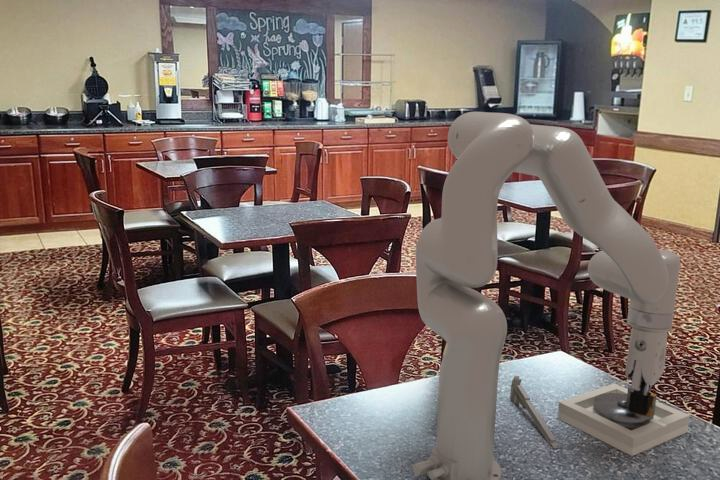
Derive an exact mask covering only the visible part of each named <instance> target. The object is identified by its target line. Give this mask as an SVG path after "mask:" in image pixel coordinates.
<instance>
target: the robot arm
mask: <svg viewBox="0 0 720 480" xmlns="http://www.w3.org/2000/svg"><path fill="white" fill-rule="evenodd" d="M447 144H448V148H449V150H450V152H451V154H452V155H453V156H454V157H455V158H456V160H455V162H454V163H453V165H452V166H451V168H450V170H449V171H448V173H447V175H446V178H445V181H444V184H443V188H442V193H441V194H442V195H441V216H440V218H436V219H434V220H431V221H430V222H428V224H426V225H425V227H423V229H422V231H421V232H420V234H419V236H418V239H417V241H416V244H415V275H416V278H415V279H416V294H417V295H416V296H417V297H416V298H417V307H418V312H419V316H420V318H421V321H422V322H423V323H424V324H425V326H426V327H427V328H429V330H431V331H432V332H434V333H435V334H437V335H438V336H439V337H441V339H443V340H444V341H445V343H447V350H446V353H445V355H444V357H443V356H442V359H443V360H441V363H440V367H439V372H438V398H437V399H438V400H437V420H436V421H437V423H436V425H437V426H436V444H435V445H436V447H434V448H432V449H431V450H430V456H428V457H427V459H426V460H423V461H420V462H417V463H413V465H412V471H413V474H414V475H415V476H416V477H419V476H422V475H425V474H426V475H427V477H428V478H429V479H430V480H502V475H503V471H502V467H501V465H500V464H499V462H498V461H496V459H494V450H495V449H494V447H495V431H496V430H495V429H496V418H497V417H496V416H497V403H498V401H497V399H498V384H499V383H498V382H499V369H500V364H501V357H502V353H503V349H504V345H505V342H506V339H507V333H508V323H507V318H506V316H505V313H504V311H503V309H502V308H501V307H500V306H499V304H498V303H496V302H495V301H494V300H493V299H492V298H490V297H489V296H487V295H485V294H483V293H481V292H479V291H478V290H475V289H476V288H480V287H484V286H486V285H488V284H489V283H491V281H492V280H493V279H494V276H495V275H496V271H497V268H498V257H499V255H498V202H499V196H500V192H501V190H502V188H503V186H504V184H505V182H506V181H507V180H508V178H509V177H510V175H512V173H518V174H524V175H528V176H534V177H538V178H539V180H540V181H541V182H542V185H543V186H544V188H545V190H546V192H547V193H548V195H549V196H550V198H551V200H552V202H553V204H554V205H555V208H556V209H557V211H558V213H559V215H560V217H561V219H562V220H563V222H564V223H565V224H566V225H567V227H569V228H570V229H571V230H573V231H574V233H577V235H579V236H580V237H582V238H584V239H585V240H587V241H588V242H590V243H592V244H593V245H594V246H596V247H597V248H599V249H600V251H598V252H596V253H595V254H594V255H592V257H591V258H590V260H589V262H588V265H587V274H588V277H589V279H590V281H592V283H593V284H594V285H596V286H598V288H601V289H603V290H605V291H607V292H610V293H613V294H615V295H617V296H620V297H623V298H626V299H628V300H629V302H628V304H629V305H628V312H627V317H626V318H627V320H626V324H628V325H629V326H630V327H631V332H630V337H629V342H628V343H629V344H628V350H627V357H626V364H625V378H626V379H627V381H630V380H631V386H630V387H631V393H630V402H629V411H630V412H634V413H638V414H641V415H646V414H647V413H648V411H649V404H650V397H651V393H652V392H651V390H652V386H654V385H655V384H656V383H657V382H658V380H659V379H660V378H661V376H662V375H663V374H664V371H665V369H666V367H665V366H666V358H667V357H666V355H667V345H668V344H667V343H668V332H669V331H670V332H671V330H672V329H673V321H674V316H675V315H674V314H675V306H676V299H677V289H678V283H679V276H680V268H681V259H680V257H679V255H678V254H676V253H675V252H673V251H670V250H665V249H660V248H658V246H657V244H656V243H655V241H654V239H653V238H652V237H651V235H650V234H649V233H648V232H647V230H645V228H643V226H642V225H641V224H640V223H639V222H637V221H636V220H635V219H634V217H632V216H631V214H630V213H628V211H626V209H625V208H624V207H622V206H621V205H620V204H619V203H618V202H617V201H616V200H615V199H614V198H613V196H612V195H611V193H610V191H609V189H608V188H607V186H606V183H605V181H604V180H603V177H602V176H601V174H600V172H599V170H598V168H597V166H596V164H595V162H594V161H593V157H592V156H591V155H590V153H589V150H588V149H587V147H586V145H585V143H584V141H583V139H582V138H581V137H580V135H578V134H577V133H576V132H575V131H573V130H572V129H570V128H566V127H561V126H554V125H541V124H531V123H530V122H529V121H527V120H526V119H525V118H523V117H522V116H519V115H516V114H513V113H505V112H488V111H487V112H486V111H469V112H465V113H463V114H461V115H459V116H458V117H456V118H455V119H454V121H453V122H452V123H451V124H450V126H449V129H448V131H447ZM649 392H651V393H649Z"/></svg>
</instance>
